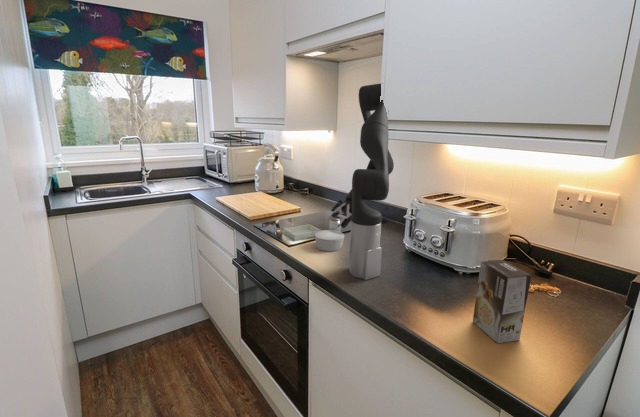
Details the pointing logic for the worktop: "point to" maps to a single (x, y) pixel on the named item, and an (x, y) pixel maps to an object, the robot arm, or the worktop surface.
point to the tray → (301, 232)
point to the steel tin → (335, 223)
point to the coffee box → (501, 300)
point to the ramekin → (329, 240)
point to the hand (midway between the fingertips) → (336, 224)
